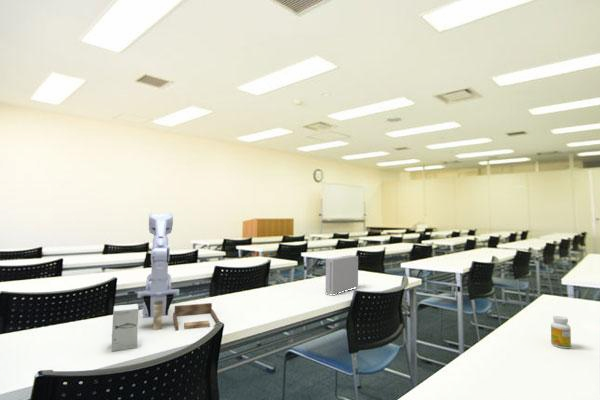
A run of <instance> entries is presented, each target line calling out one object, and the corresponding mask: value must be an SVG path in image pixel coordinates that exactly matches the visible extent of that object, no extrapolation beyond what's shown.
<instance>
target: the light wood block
mask: <svg viewBox="0 0 600 400" xmlns="http://www.w3.org/2000/svg"><path fill="white" fill-rule="evenodd" d="M163 317H164V316H163V300H159V301H154V317H153V324H152V325H153V328H152V331H158V330H163Z"/></svg>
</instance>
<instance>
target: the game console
mask: <svg viewBox="0 0 600 400" xmlns="http://www.w3.org/2000/svg"><path fill="white" fill-rule="evenodd" d="M358 286H359V255H343V256H338V257H331V258H325V294H326V293H327V294H332V295H333V294H336V293H339V292H342V291H345V290H348V289H351V288H354V287H357V288H358ZM327 294H326V295H327ZM332 295H331V296H332ZM333 296H334V295H333Z"/></svg>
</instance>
